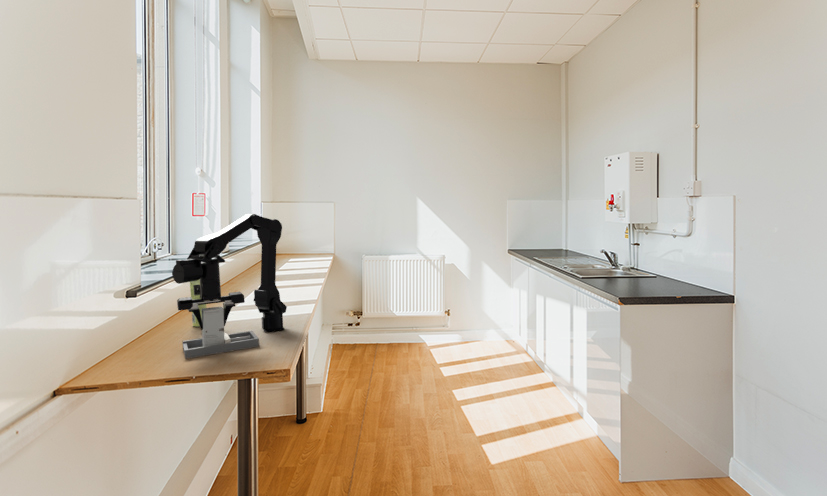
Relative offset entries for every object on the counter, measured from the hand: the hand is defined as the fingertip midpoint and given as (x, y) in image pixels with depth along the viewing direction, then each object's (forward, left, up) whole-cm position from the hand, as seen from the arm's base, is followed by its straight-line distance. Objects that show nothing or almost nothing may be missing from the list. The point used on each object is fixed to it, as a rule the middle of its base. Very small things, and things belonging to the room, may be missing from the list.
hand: (213, 327), depth 140 cm
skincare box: (0, 0, -6) cm, 6 cm away
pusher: (-7, 0, -6) cm, 9 cm away
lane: (-2, 0, -7) cm, 7 cm away
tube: (+1, -34, -7) cm, 35 cm away
